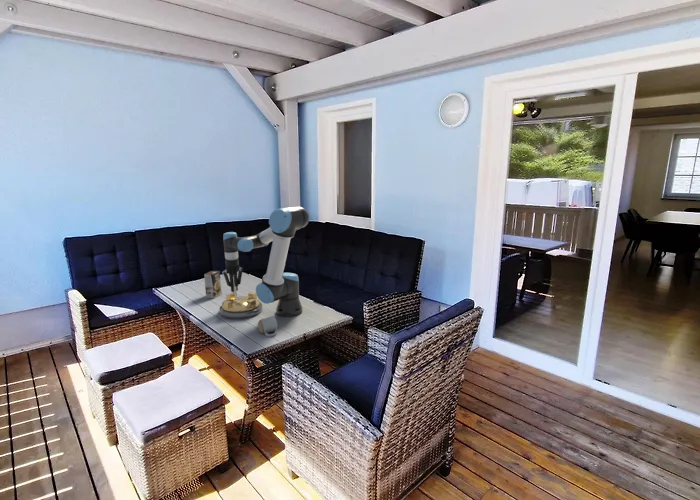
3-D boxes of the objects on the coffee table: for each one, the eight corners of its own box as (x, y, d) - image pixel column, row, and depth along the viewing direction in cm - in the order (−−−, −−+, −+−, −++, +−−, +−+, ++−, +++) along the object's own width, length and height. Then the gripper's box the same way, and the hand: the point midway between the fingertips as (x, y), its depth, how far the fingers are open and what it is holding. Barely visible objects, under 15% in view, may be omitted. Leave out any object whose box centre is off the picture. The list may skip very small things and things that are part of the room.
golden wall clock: (260, 299, 226) (259, 290, 225) (258, 311, 206) (258, 302, 205) (224, 301, 222) (223, 292, 221) (219, 314, 202) (219, 305, 201)
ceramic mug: (257, 331, 189) (256, 317, 187) (272, 327, 193) (272, 313, 191) (265, 339, 180) (264, 324, 178) (280, 335, 184) (280, 320, 183)
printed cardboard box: (214, 298, 236) (212, 274, 233) (205, 298, 237) (203, 274, 234) (222, 294, 245) (220, 270, 241) (213, 293, 246) (211, 270, 243)
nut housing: (264, 303, 228) (264, 298, 227) (260, 318, 205) (259, 313, 204) (224, 305, 225) (224, 300, 224) (215, 320, 202) (215, 315, 201)
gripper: (239, 255, 222) (242, 292, 227) (218, 259, 214) (222, 297, 219) (244, 257, 217) (247, 295, 222) (224, 261, 208) (227, 300, 214)
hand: (234, 296), depth 220 cm, fingers closed
